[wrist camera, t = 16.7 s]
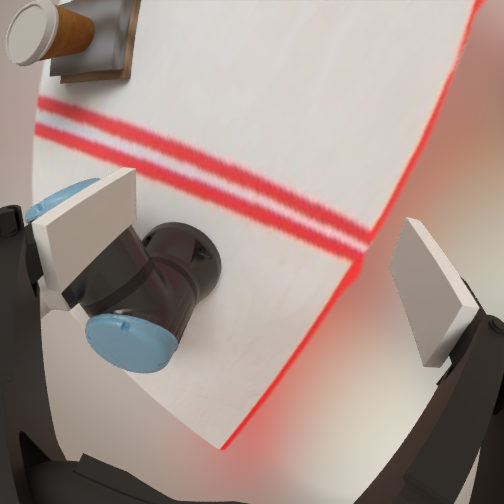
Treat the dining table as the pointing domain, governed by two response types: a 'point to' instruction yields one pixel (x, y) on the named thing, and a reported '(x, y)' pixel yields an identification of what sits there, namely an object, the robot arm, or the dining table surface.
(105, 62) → the grey block on wood
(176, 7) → the dining table surface
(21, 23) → the disposable coffee cup
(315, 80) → the dining table surface
